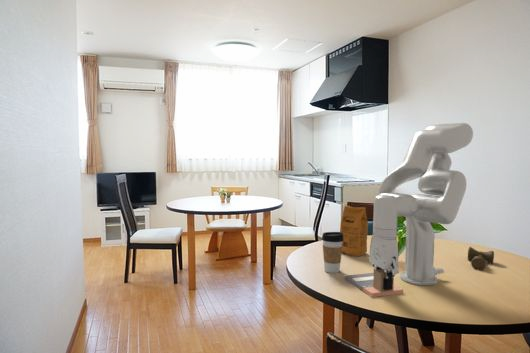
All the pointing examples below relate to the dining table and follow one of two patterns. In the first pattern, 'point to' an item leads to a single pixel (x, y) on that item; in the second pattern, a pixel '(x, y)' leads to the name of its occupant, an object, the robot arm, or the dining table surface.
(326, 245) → the coffee cup
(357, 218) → the coffee package
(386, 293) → the cube on pink base
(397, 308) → the dining table surface
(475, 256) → the kendama
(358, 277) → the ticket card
